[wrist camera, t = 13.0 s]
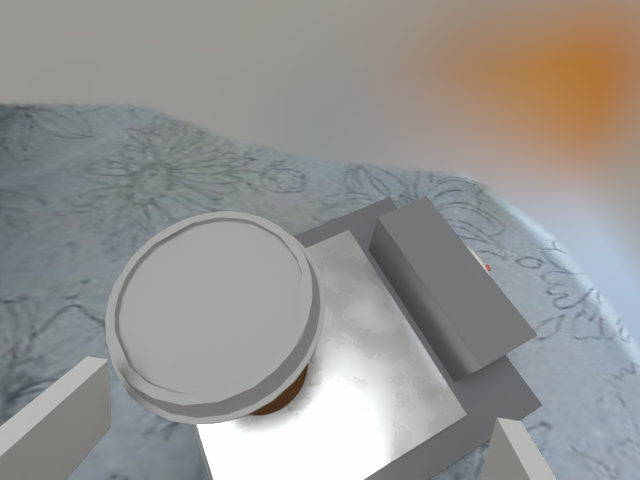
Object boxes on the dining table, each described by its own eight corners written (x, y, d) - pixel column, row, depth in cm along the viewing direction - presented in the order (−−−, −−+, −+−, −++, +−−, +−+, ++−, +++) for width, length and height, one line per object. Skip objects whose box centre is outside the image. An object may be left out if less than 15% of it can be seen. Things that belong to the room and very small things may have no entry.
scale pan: (165, 314, 29) (161, 309, 28) (348, 235, 32) (349, 229, 32) (240, 553, 21) (237, 557, 21) (461, 416, 25) (467, 414, 25)
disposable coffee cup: (275, 479, 22) (219, 483, 12) (163, 387, 25) (43, 327, 15) (357, 344, 26) (367, 261, 16) (251, 279, 29) (204, 175, 19)
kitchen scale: (165, 308, 32) (125, 267, 25) (387, 213, 37) (405, 158, 31) (252, 584, 23) (227, 638, 16) (526, 406, 29) (594, 390, 22)
